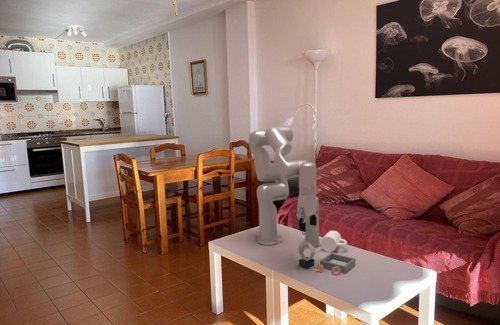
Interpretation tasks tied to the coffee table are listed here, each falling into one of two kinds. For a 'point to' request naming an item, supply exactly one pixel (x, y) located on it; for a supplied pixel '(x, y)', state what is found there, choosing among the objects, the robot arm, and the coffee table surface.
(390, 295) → the coffee table surface
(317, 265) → the clip
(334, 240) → the mug
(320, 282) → the coffee table surface
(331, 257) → the holder
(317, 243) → the water bottle
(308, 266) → the watch
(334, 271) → the clip
